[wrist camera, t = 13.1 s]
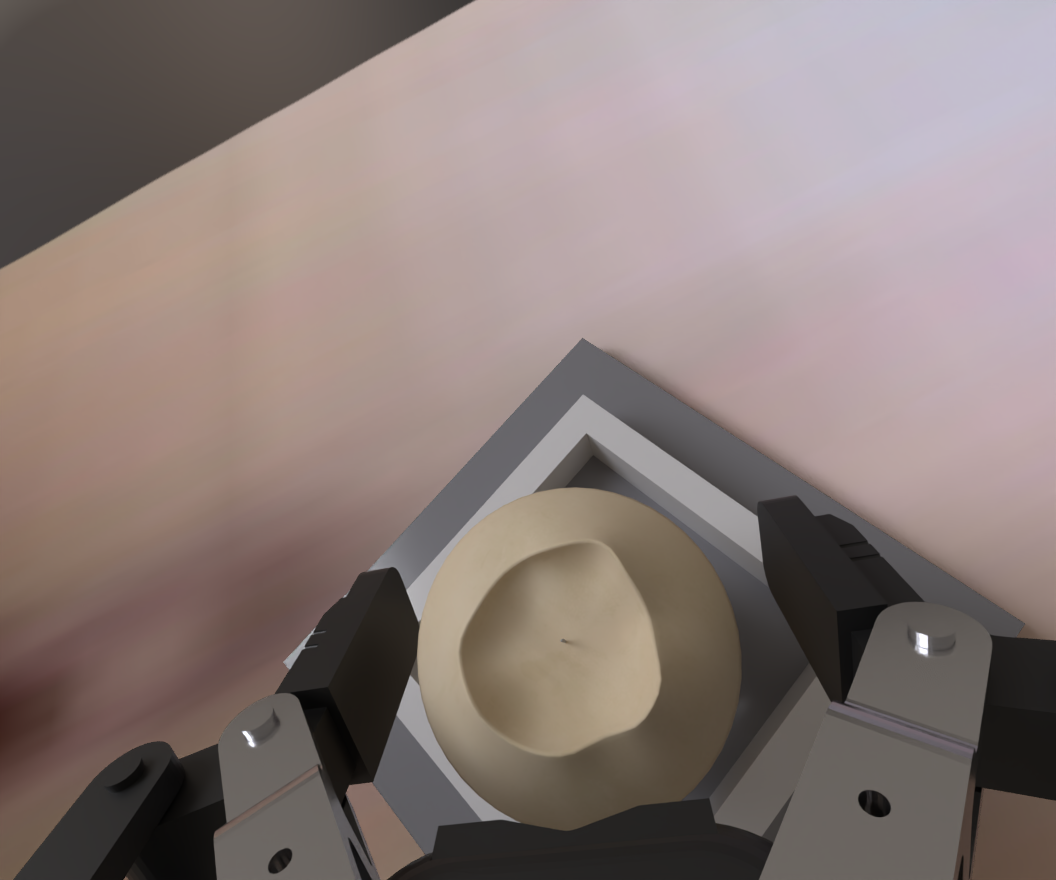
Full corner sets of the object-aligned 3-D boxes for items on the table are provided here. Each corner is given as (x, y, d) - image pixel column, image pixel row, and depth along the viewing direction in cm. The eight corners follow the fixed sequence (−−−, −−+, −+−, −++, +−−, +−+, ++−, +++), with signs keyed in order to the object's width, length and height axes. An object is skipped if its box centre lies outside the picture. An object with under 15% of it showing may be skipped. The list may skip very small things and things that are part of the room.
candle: (579, 531, 19) (509, 406, 10) (734, 626, 17) (829, 578, 8) (487, 679, 18) (310, 692, 9) (642, 799, 16) (625, 985, 7)
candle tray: (657, 1137, 14) (656, 1249, 11) (300, 662, 20) (244, 660, 18) (1005, 626, 16) (1073, 616, 13) (585, 351, 23) (575, 307, 20)
